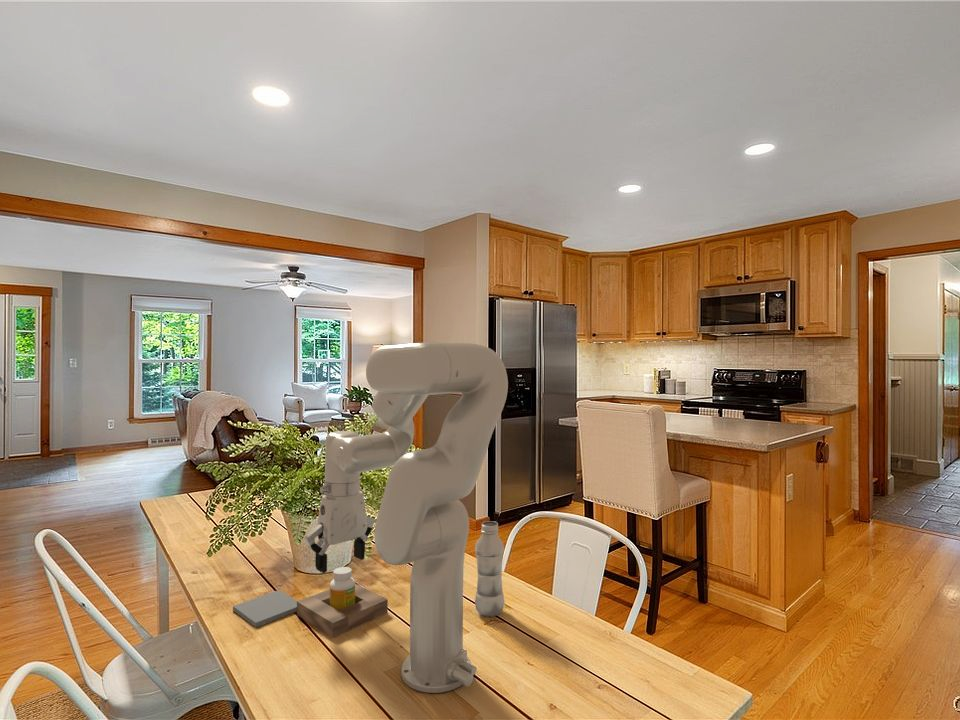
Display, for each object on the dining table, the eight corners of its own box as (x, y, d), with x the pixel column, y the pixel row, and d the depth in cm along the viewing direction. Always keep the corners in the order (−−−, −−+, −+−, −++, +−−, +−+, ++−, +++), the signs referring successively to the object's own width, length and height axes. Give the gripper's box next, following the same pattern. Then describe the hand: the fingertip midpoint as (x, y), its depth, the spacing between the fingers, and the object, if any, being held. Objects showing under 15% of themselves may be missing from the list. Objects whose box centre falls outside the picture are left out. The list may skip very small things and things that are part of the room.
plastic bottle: (510, 612, 117) (510, 523, 117) (490, 624, 113) (490, 530, 112) (488, 603, 122) (489, 517, 122) (468, 613, 117) (468, 523, 117)
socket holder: (387, 612, 117) (387, 599, 117) (332, 637, 107) (332, 623, 107) (350, 593, 127) (350, 581, 127) (296, 615, 116) (296, 601, 116)
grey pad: (303, 608, 119) (303, 604, 119) (255, 627, 111) (255, 622, 111) (279, 594, 126) (279, 589, 126) (232, 610, 118) (232, 606, 118)
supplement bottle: (348, 621, 113) (348, 576, 113) (325, 618, 115) (325, 574, 114) (359, 609, 119) (359, 566, 119) (336, 607, 120) (336, 564, 120)
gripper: (316, 499, 108) (315, 582, 108) (384, 484, 121) (382, 558, 121) (297, 491, 113) (296, 571, 113) (364, 477, 126) (362, 549, 126)
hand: (340, 564), depth 117 cm, fingers open, 9 cm apart
